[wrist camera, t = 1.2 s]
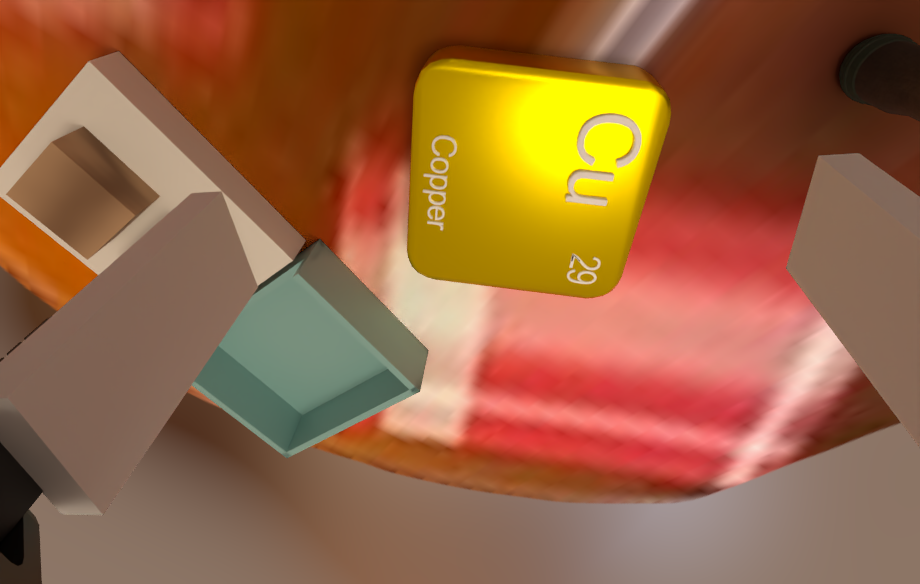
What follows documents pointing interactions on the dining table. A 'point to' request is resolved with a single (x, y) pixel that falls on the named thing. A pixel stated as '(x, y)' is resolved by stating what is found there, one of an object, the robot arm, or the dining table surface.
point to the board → (152, 162)
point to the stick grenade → (884, 74)
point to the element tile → (530, 169)
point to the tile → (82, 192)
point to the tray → (311, 355)
